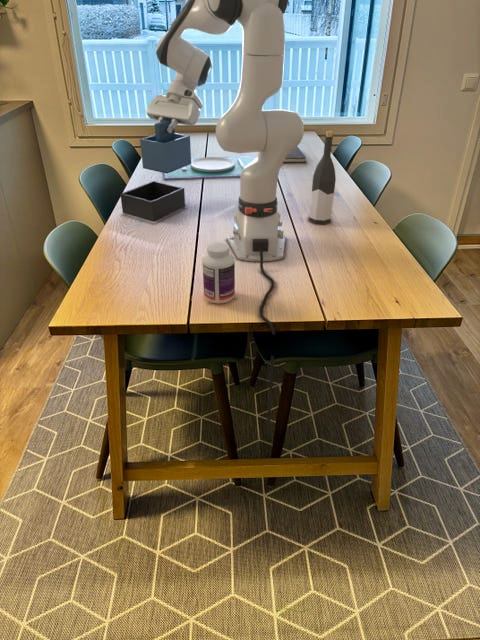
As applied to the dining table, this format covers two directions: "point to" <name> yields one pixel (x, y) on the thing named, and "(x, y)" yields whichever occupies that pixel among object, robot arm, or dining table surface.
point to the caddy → (165, 150)
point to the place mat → (211, 168)
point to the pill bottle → (218, 273)
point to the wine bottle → (323, 186)
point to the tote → (153, 200)
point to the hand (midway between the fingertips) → (163, 131)
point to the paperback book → (295, 156)
